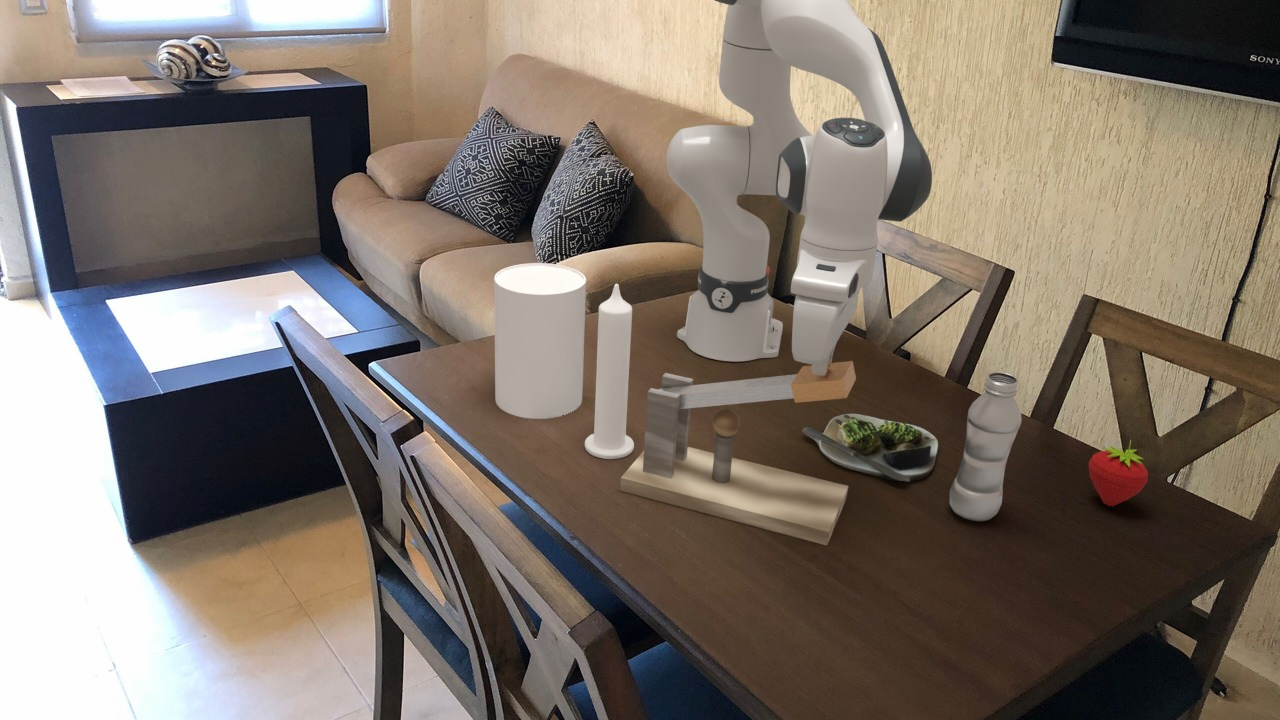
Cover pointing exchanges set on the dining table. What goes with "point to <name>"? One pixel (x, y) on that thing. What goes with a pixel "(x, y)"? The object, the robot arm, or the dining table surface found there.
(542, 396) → the canister
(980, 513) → the plastic bottle
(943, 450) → the dining table surface
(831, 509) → the press base
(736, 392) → the press lever
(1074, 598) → the dining table surface
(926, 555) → the dining table surface
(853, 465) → the salad plate
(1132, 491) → the strawberry
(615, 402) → the candle
